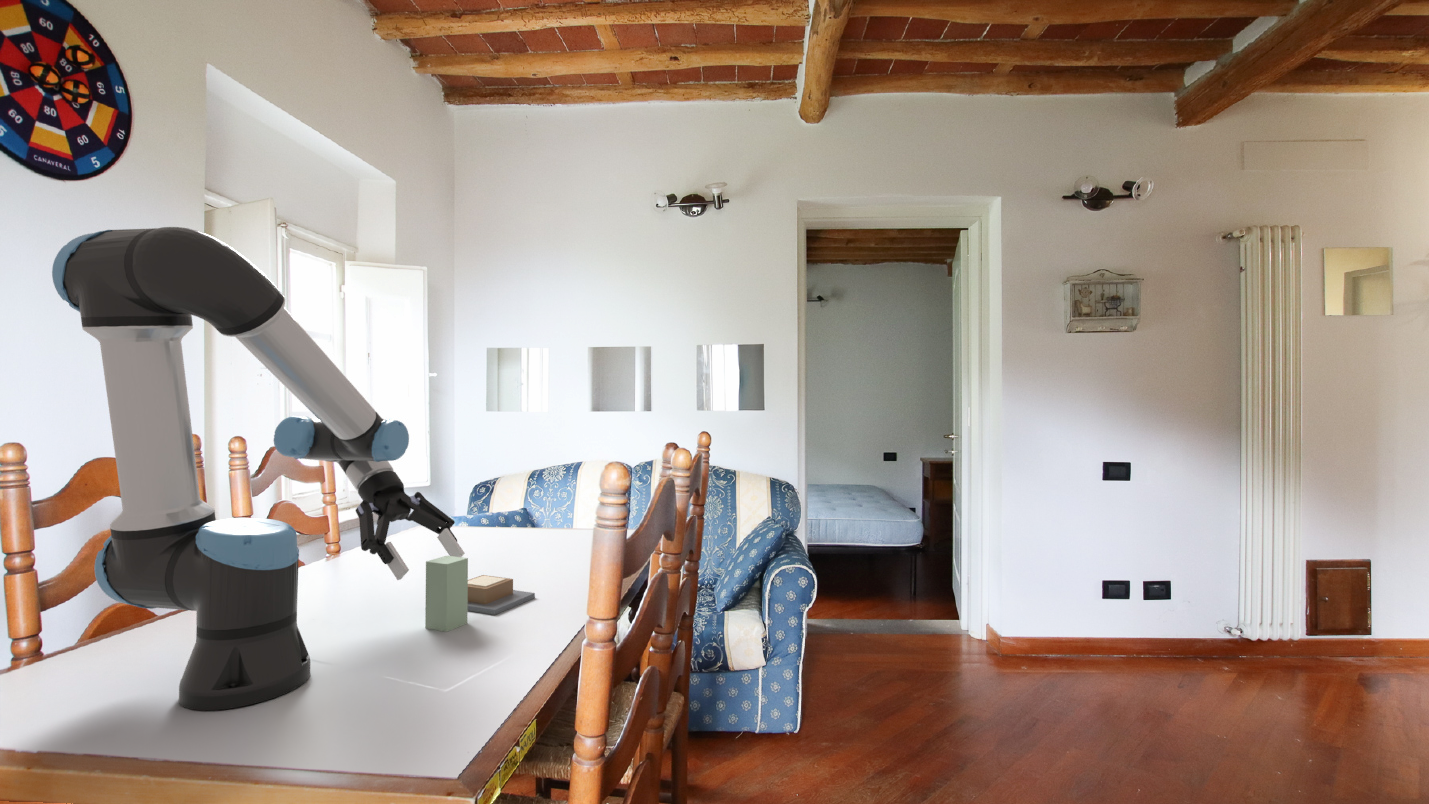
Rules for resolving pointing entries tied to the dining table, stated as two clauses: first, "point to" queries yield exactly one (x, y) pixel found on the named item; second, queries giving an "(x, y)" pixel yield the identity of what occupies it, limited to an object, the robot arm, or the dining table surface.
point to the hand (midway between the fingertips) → (433, 566)
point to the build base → (501, 603)
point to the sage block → (446, 593)
